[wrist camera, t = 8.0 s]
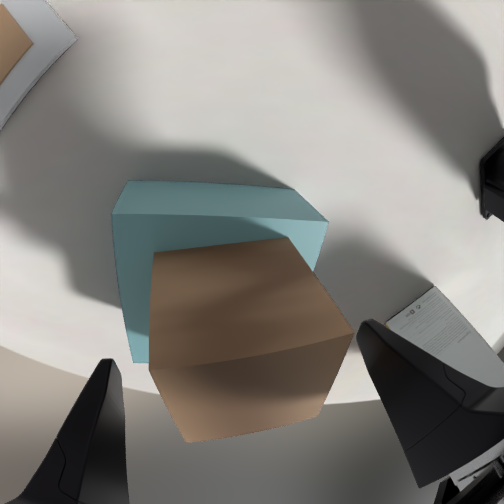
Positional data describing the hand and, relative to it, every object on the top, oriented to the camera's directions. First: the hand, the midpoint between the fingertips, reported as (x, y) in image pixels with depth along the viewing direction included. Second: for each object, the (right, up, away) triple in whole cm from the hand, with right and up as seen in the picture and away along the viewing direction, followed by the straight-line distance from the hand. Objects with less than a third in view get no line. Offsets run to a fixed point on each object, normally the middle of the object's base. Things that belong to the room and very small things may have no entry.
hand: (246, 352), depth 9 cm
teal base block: (-2, +3, +6) cm, 7 cm away
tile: (-12, +12, -3) cm, 17 cm away
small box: (+16, -4, +16) cm, 23 cm away
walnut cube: (-1, +1, +2) cm, 3 cm away
